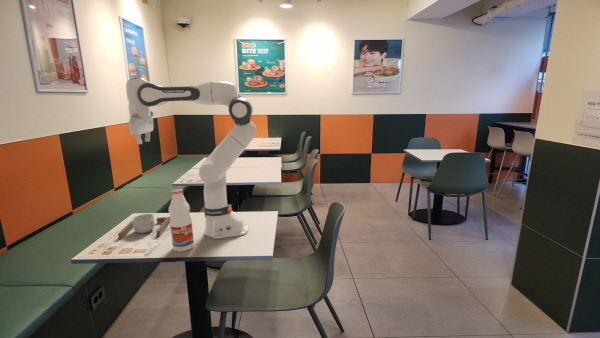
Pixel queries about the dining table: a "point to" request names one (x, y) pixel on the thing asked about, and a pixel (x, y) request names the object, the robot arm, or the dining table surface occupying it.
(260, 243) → the dining table surface
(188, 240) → the fruit juice
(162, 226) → the wooden l-brackets
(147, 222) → the teacup
